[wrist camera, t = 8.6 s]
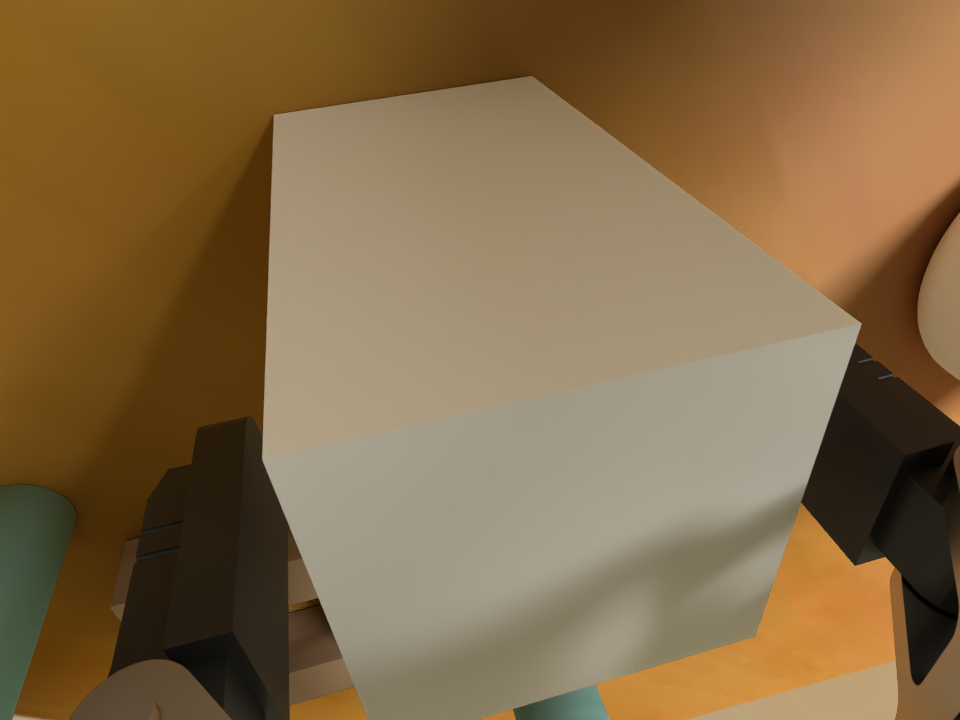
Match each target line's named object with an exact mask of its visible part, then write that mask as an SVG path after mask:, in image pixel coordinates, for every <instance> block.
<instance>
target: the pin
mask: <svg viewBox="0 0 960 720" xmlns="http://www.w3.org/2000/svg"><path fill="white" fill-rule="evenodd" d="M76 521H77V515H76V511H75V508H74V507H73V505H72V504H71V503H70V502H69V501H68V500H67V499H66V498H65V497H63V496H62V495H60V494H58V493H56V492H54V491H52V490H49V489H46V488H43V487H39V486H33V485H8V486H2V487H0V720H12V718H13V715H14V712H15V709H16V706H17V703H18V700H19V697H20V694H21V691H22V688H23V684H24V681H25V678H26V675H27V672H28V669H29V666H30V663H31V660H32V657H33V654H34V651H35V647H36V644H37V641H38V638H39V635H40V632H41V629H42V626H43V623H44V620H45V617H46V614H47V610H48V607H49V604H50V601H51V598H52V595H53V592H54V589H55V586H56V583H57V580H58V577H59V573H60V570H61V567H62V564H63V561H64V558H65V555H66V552H67V549H68V546H69V543H70V540H71V536H72V533H73V530H74V527H75V524H76Z"/></svg>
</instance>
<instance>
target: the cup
mask: <svg viewBox="0 0 960 720" xmlns="http://www.w3.org/2000/svg"><path fill="white" fill-rule="evenodd" d="M918 326H919V331H920V334H921V337H922V340H923V343H924V345H925V347H926V349H927V350H928V352H929V353H930V355H931V356H932V358H933V359H934V360H935V361H936V362H937V363H938V364H939V365H940V366H941V367H942V368H943V369H945V370H946V371H947V372H949V373H950V374H951V375H953V376H954V377H955V378H957V379H958V380H960V213H959V214H958V215H957V216H956V218H955V219H954V220H953V222H952V223H951V225H950V226H949V228H948V229H947V231H946V232H945V234H944V235H943V237H942V239H941V240H940V242H939V244H938V246H937V247H936V249H935V251H934V253H933V255H932V257H931V260H930V262H929V264H928V267H927V269H926V272H925V274H924V277H923V281H922V284H921V287H920V292H919V298H918Z"/></svg>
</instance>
